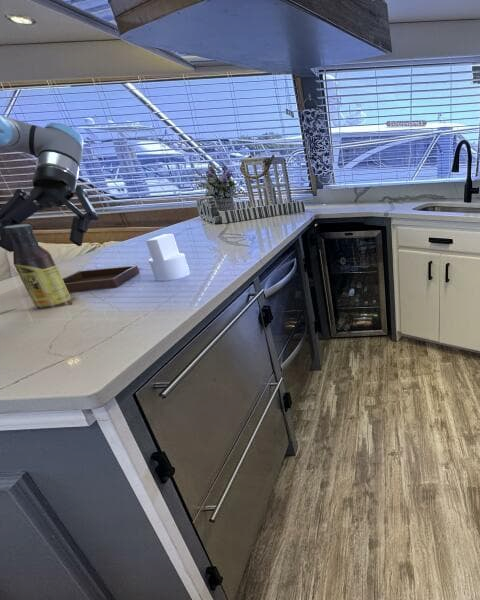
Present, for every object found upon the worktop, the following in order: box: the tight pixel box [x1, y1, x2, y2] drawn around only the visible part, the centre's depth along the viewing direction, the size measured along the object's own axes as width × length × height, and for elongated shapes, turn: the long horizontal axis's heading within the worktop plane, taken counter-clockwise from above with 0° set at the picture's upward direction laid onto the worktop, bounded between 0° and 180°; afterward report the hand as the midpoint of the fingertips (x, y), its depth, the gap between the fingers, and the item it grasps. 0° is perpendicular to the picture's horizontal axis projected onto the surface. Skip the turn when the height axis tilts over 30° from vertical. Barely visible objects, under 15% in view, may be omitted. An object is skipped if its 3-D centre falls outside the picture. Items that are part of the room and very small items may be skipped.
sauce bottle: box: [4, 223, 73, 310], centre depth 74 cm, size 7×6×20 cm
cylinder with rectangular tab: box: [145, 233, 191, 282], centre depth 95 cm, size 9×9×12 cm
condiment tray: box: [62, 265, 141, 294], centre depth 94 cm, size 16×14×2 cm
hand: (41, 245), depth 76 cm, fingers open, 13 cm apart
